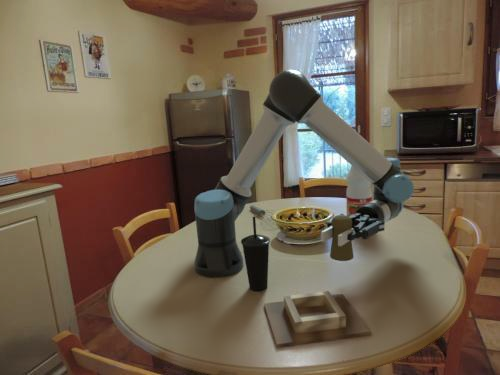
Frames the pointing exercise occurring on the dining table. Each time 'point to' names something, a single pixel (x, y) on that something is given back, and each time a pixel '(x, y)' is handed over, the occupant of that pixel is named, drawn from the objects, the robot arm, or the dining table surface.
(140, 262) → the dining table surface
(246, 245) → the drinking cup
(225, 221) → the robot arm
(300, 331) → the well board
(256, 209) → the kitchen whisk
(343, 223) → the olive green peg doll
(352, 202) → the fruit juice
